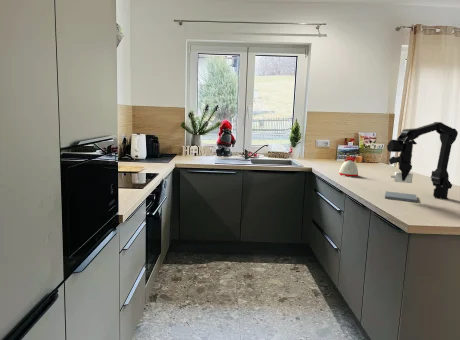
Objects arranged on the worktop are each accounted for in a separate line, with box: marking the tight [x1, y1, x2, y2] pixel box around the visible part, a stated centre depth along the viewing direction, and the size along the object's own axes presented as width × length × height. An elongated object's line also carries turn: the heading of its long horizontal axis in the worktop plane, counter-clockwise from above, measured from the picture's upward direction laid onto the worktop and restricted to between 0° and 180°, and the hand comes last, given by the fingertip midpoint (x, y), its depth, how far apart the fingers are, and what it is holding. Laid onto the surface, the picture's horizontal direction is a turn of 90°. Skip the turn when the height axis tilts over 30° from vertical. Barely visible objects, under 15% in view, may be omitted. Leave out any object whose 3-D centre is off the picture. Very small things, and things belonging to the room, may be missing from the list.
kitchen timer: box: [338, 155, 359, 177], centre depth 281 cm, size 14×14×15 cm
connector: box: [390, 171, 414, 184], centre depth 203 cm, size 11×4×5 cm, turn 66°
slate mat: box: [384, 191, 418, 203], centre depth 205 cm, size 16×16×1 cm
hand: (403, 180), depth 203 cm, fingers closed on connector, 4 cm apart
